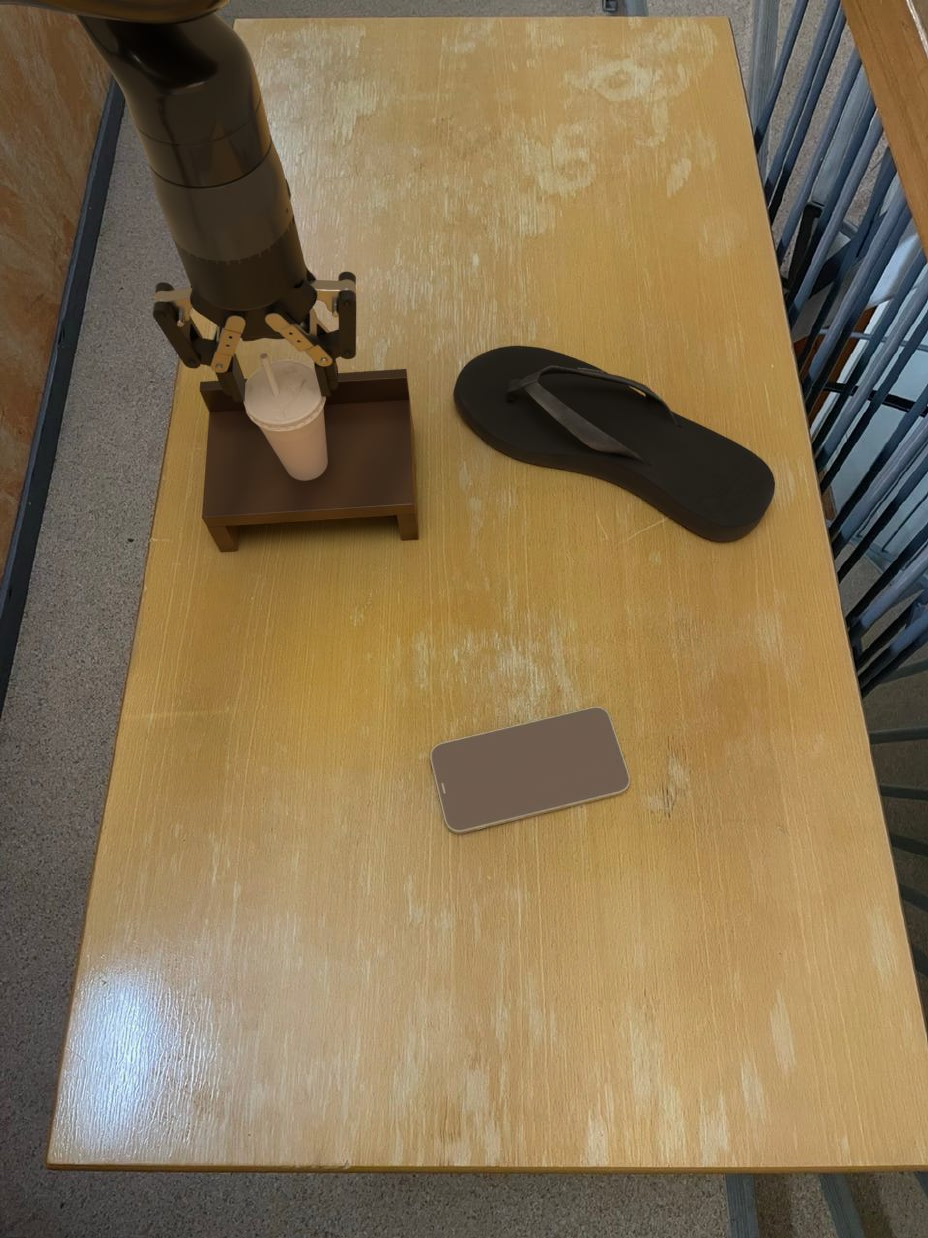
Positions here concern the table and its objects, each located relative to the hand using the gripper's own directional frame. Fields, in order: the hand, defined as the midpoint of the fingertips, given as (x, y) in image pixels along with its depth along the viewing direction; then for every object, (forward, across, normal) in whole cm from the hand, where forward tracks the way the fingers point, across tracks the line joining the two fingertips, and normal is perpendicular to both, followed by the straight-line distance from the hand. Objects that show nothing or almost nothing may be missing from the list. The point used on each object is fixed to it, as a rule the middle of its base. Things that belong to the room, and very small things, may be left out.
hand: (283, 389), depth 71 cm
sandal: (+16, +27, +3) cm, 32 cm away
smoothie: (+10, 0, 0) cm, 10 cm away
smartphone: (+16, +17, -27) cm, 36 cm away
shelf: (+16, 0, +1) cm, 16 cm away
